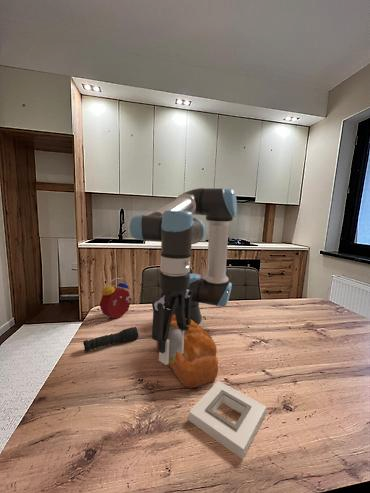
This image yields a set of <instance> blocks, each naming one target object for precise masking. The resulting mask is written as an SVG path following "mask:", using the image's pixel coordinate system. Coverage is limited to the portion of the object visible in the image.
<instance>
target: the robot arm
mask: <svg viewBox="0 0 370 493" xmlns="http://www.w3.org/2000/svg"><path fill="white" fill-rule="evenodd" d="M237 200H238V199H237V195H236V192H235V190H233V189H232V188H231V189H230V188H224V187H223V188H207V187H206V188H203V187H201V188H199V187H198V188H194V189H191V190H188V191H186V192H185V191H184V192H183V193H181V194H179V195H178V196H177V197H176V198H175V200H174V201H171V202H170V203H168V204H166V205H164V206H163V207H160V208H158V210H155V211H153V212H152V213H150V214H148V215H147V214H146V215H145V214H140V215H139V214H138V215H134V216H133V217H132V218H131V219H130V222H129V232H130V236H132V238H133V239H135V240H140V241H146V242H147V241H148V242H149V241H150V242H157V243H158V242H160V244H161V245H160V246H161V247H160V248H161V250H160V267H159V268H160V270H159V271H160V274H159V287H160V288H161V290H162V291H161V295H160V299H158V300H152V302H151V305H152V310H153V311H152V312H153V313H152V330H151V339H152V340H154V341H156V342H157V341H158V349H157V351H158V361H159V362H160V363H162V364H164V365H166V366H168V364H169V340H168V339H167V338H168V333H169V329H170V324H171V319H172V315H174V314H175V315H176V321H177V327H179V328H178V329H179V330H180V331H181V333H182V336H183V340H182V343H181V345H180V346H179V348H178V349H177V352H178V353H180V354H183V350H184V338H185V330H186V331H188V329H189V327H187V325H190V323H191V320H193V321H194V322H195V323H196V324H198V325H200V324H201V323H202V314H201V313H202V312H201V309H200V304H204V305H210V306H216V307H222V308H223V307H226V306H228V304H229V303H228V302H229V300H230V295H231V292H232V286H233V283H232V282H230V281H229V280H230V279H229V277H228V276H227V260H228V259H227V256H228V244H229V243H228V242H229V241H228V240H229V226H230V224H231V223H232V222H233V218H236V216H237V214H238V213H237V212H238V211H237V210H238V202H237ZM194 215H196V216H197V215H198V216H205V220H206V223H208V244H207V247H208V248H207V266H206V267H207V270H206V274H205V275H204V276H203V278H202V275H201V274H198V273H190V272H191V258H192V257H191V256H192V246H193V245H196V244H198V243H200V242H201V241H202V240H203V239H204V238H205V236H206V231H207V230H206V225H205V223H204V222H203V221H202V220H201V219H198V218H196V217H194ZM186 319H187V320H186Z"/></svg>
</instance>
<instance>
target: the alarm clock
mask: <svg viewBox="0 0 370 493" xmlns="http://www.w3.org/2000/svg"><path fill="white" fill-rule="evenodd" d="M114 280H121V282H119V283H117V285H116V284H114V285H111V283H112V282H113V281H114ZM116 286H117V287H116ZM126 289H128V290H126ZM129 289H130V287H129V284H127V283H126V282H125V281H123V278H119V277H115V278H113V279H112V280H110V281H109V284H108V285H107V286H105V287H104V288H103V290H102V292H101V293H102V297H101V299H100V303H99V307H100V310H101V312H102V314H103V315H105V316H107V317H106V320H109V319H110V318H113V319H120V318H122V317H123V316H124V315H125V314H126V313H127V312H128V311H129V308H130V307H131V306H130V305H131V302H132V296H131V295H130V292H129Z"/></svg>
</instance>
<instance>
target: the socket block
mask: <svg viewBox="0 0 370 493" xmlns="http://www.w3.org/2000/svg"><path fill="white" fill-rule="evenodd" d="M223 404H224V405H226V406H227V407H229V408H230V409H232V410H234V411H236V412H238V413H239V414H241V415H240V416H239V418H238V419H237V421H236V422H235V423H233V422H232V421H231V420H229V419H227V418H226V417H224V416H222V415H221V414H219V413H218V412H217V410H219V408H220V406H222V405H223ZM266 414H267V406H266V405H264V404H262V403H261V402H259V401H257V400H256V399H253V398H251V397H249V396H248V395H246V394H244V393H243V392H240V391H238V390H236V389H234V388H233V387H231V386H229V385H227V384H226V383H223V381H220V380H217V381H216V382H215V383H214V384H213V385H212V386H211V388H209V389H208V391H206V393H205V394H204V395H203V396H202V397H201V398H200V399H199V400H198V401H197V403H195V405H193V407H192V408H191V409H190V410H189V413H188V422H190V423H192V424H193V425H194V426H195V427H197V428H199V429H200V430H201V431H203V432H205V434H207V435H208V436H210V437H211V438H213V439H214V440H215V441H216V442H218V443H219V444H220V445H222V446H223V447H225V448H226V449H228V450H229V451H230V452H232V453H233V454H235V455H236V456H237V457H238V458H240V459H242V460H243V459H244V457H245V456H246V453H247V452H248V449H250V448H249V447H250V446H251V444H252V442H253V441H254V438H255V436H256V434H257V432H258V430H259V428H260V427H261V425H262V423H263V421H264V419H265V418H266Z"/></svg>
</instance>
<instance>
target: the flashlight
mask: <svg viewBox="0 0 370 493" xmlns="http://www.w3.org/2000/svg"><path fill="white" fill-rule="evenodd" d="M138 338H139V332H138V328H137V326H132V327H129V328H125V329H123V330H121V331H119V332H116V333H110V334H106V335H102V336H101V335H100V336H98V337H95V338H91V339H89V340H88V339H84V340H83V343H82V344H83V347H84V350H83V353H88V352H90V351H91V350H95V349H100V348H102V347H108V346H110V345H114V344H117V343H123V342H126V343H127V342H130V341H134V340H137V339H138Z"/></svg>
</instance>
